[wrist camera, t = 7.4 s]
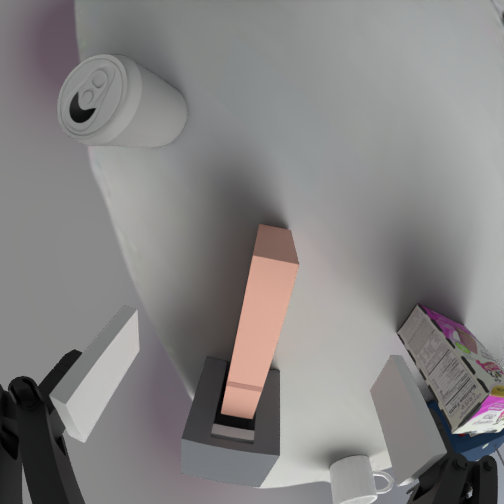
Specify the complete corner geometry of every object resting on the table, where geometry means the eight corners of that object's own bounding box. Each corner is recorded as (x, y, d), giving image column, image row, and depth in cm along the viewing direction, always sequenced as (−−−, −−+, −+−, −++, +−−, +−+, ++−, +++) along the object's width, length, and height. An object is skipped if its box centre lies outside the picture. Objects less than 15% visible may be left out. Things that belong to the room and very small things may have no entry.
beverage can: (120, 124, 24) (39, 114, 13) (159, 75, 22) (93, 34, 11) (160, 161, 25) (87, 167, 14) (204, 110, 23) (152, 77, 12)
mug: (384, 462, 40) (393, 498, 31) (329, 475, 42) (333, 512, 32) (390, 445, 38) (401, 485, 28) (329, 459, 39) (334, 502, 30)
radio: (498, 381, 32) (541, 447, 13) (477, 411, 35) (511, 477, 16) (423, 396, 33) (465, 494, 14) (401, 429, 36) (429, 519, 17)
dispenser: (207, 357, 32) (181, 438, 20) (279, 370, 32) (279, 455, 20) (201, 401, 35) (181, 473, 23) (264, 413, 35) (259, 487, 23)
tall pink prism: (259, 223, 26) (252, 255, 18) (290, 230, 26) (299, 264, 18) (232, 355, 31) (220, 413, 23) (257, 360, 31) (252, 419, 23)
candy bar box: (466, 323, 29) (529, 400, 13) (446, 352, 30) (498, 434, 15) (416, 299, 28) (492, 394, 12) (394, 333, 30) (449, 437, 14)
